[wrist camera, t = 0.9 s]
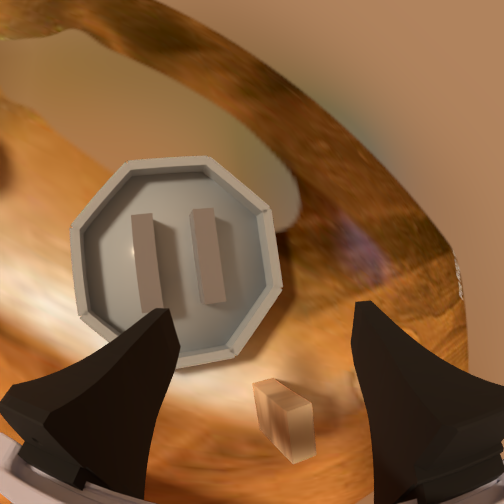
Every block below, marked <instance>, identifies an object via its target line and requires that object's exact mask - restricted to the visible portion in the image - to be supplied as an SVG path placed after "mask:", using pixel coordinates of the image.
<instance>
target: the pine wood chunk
mask: <svg viewBox="0 0 504 504" xmlns="http://www.w3.org/2000/svg"><path fill="white" fill-rule="evenodd" d="M252 385H253V391H254V397H255V404H256V410H257V416H258V421H259V427H260V430H261V431H262V432H263V433H264V434H265V435H266V436H267V438H268V439H269V440H270V441H271V442H272V443H273V444H274V445H275V446H276V447H277V448H278V449H279V450H280V451H281V452H282V453H283V454H284V455H285V456H286V458H287V459H288V460H289V461H290V462H291V463H292V464H295V463H298V462H301V461H303V460H306V459H308V458H311V457H313V456H315V455H316V444H315V432H314V420H313V409H312V403H311V402H310V401H308V400H306V399H305V398H303V397H302V396H300V395H298V394H297V393H295V392H294V391H292V390H290V389H289V388H287V387H286V386H284V385H283V384H281V383H280V382H278V381H277V380H275V379H274V378H271V379H267V380H264V381H260V382H256V383H252Z"/></svg>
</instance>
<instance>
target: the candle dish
mask: <svg viewBox="0 0 504 504" xmlns="http://www.w3.org/2000/svg"><path fill="white" fill-rule="evenodd" d="M269 207H270V206H269V205H267V204H266V203H265V202H264V201H263V200H262V199H260V198H259V197H258V196H257V195H256V194H255V193H253V192H252V191H251V190H250V189H249V188H247V187H246V186H245V185H244V184H243V183H241V182H240V181H239V180H238V179H237V178H235V177H234V176H233V175H232V174H231V173H229V172H228V171H227V170H226V169H225V168H223V167H222V166H221V165H220V164H218V163H217V162H216V161H215V160H213V159H212V158H211V157H209V158H208V157H207V156H188V157H169V158H154V159H141V160H130V161H128V164H127V163H126V162H125V163H124V164H123V165H122V166H121V167H120V168H119V169H118V170H117V171H116V172H115V173H114V175H113V176H112V177H111V178H110V179H109V180H108V181H107V182H106V183H105V184H104V186H103V187H102V188H101V189H100V190H99V191H98V192H97V194H96V195H95V196H94V197H93V198H92V199H91V201H90V202H89V203H88V204H87V205H86V207H85V208H84V209H83V210H82V212H81V213H80V214H79V215H78V217H77V218H76V219H75V220H74V222H73V223H72V224H71V226H72V227H73V228H70V246H71V260H72V271H73V280H74V289H75V297H76V304H77V310H78V316H81V317H80V319H81V320H82V321H83V322H84V323H86V324H87V325H88V326H89V327H90V328H92V329H93V330H94V331H95V332H97V333H98V334H99V335H100V336H102V337H103V338H104V339H105V340H107V341H108V342H111V341H112V340H114V339H115V338H116V337H118V336H119V335H120V334H122V333H123V332H124V331H126V330H127V329H128V328H130V327H131V326H132V325H133V324H135V323H136V322H137V321H139V320H140V319H141V318H142V317H144V316H145V315H146V314H148V313H149V312H151V311H152V310H154V309H155V308H169V309H170V313H171V316H172V319H173V323H174V326H175V330H176V333H177V336H178V339H179V343H180V346H181V348H180V352H179V357H178V361H177V365H176V369H178V368H184V367H190V366H196V365H201V364H206V363H212V362H217V361H222V360H227V359H231V358H235V355H236V356H238V354H239V353H240V352H241V350H242V349H243V347H244V346H245V344H246V343H247V342H248V340H249V339H250V337H251V336H252V334H253V333H254V331H255V330H256V328H257V327H258V326H259V324H260V323H261V321H262V320H263V318H264V317H265V315H266V314H267V312H268V311H269V309H270V308H271V306H272V305H273V303H274V302H275V300H276V299H277V297H278V296H279V294H280V293H281V291H282V289H281V287H283V283H282V276H281V269H280V262H279V256H278V249H277V242H276V236H275V229H274V223H273V216H272V210H271V209H269Z"/></svg>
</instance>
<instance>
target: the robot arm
mask: <svg viewBox="0 0 504 504" xmlns="http://www.w3.org/2000/svg"><path fill="white" fill-rule="evenodd" d="M180 348H181V346H180V343H179V339H178V336H177V333H176V330H175V326H174V323H173V319H172V316H171V313H170V309H169V308H155V309H154V310H152V311H151V312H149V313H148V314H146V315H145V316H144V317H142V318H141V319H140V320H139V321H137V322H136V323H135V324H133V325H132V326H131V327H130V328H128V329H127V330H126V331H124V332H123V333H122V334H120V335H119V336H118V337H116V338H115V339H114V340H112V341H111V342H109V343H108V344H107V345H105V346H104V347H102V348H101V349H99V350H98V351H96V352H95V353H93V354H91V355H90V356H88V357H86V358H84V359H83V360H81V361H79V362H77V363H75V364H73V365H71V366H69V367H66V368H64V369H62V370H60V371H58V372H55V373H53V374H50V375H47V376H44V377H41V378H38V379H35V380H31V381H28V382H24V383H19V384H15V385H12V386H11V388H10V389H9V390H8V392H7V393H6V394H5V396H4V397H3V399H2V400H1V401H0V413H1V415H2V416H3V417H4V419H5V420H6V421H7V422H8V423H9V425H10V426H11V427H12V428H13V429H14V430H15V431H16V432H17V433H18V434H19V435H20V437H21V438H22V439H23V440H24V441H25V442H24V444H23V446H22V445H20V444H19V443H18V442H16V441H15V440H13V439H12V438H10V437H8V436H7V435H5V434H3V433H0V493H1V494H2V495H3V496H5V497H6V498H7V499H8V500H10V501H11V502H12V503H10V504H156V503H152V502H148V501H144V490H145V478H146V470H147V463H148V456H149V451H150V445H151V440H152V436H153V431H154V427H155V423H156V419H157V416H158V413H159V410H160V407H161V405H162V402H163V399H164V397H165V394H166V392H167V389H168V387H169V384H170V382H171V379H172V377H173V374H174V371H175V369H176V365H177V361H178V357H179V352H180ZM351 348H352V355H353V361H354V366H355V370H356V373H357V377H358V380H359V384H360V387H361V391H362V394H363V398H364V402H365V405H366V409H367V413H368V418H369V425H370V433H371V441H372V452H373V467H374V504H504V459H503V460H502V458H501V455H500V453H501V452H503V449H504V448H503V446H502V443H501V441H502V440H503V439H504V386H501V385H498V384H495V383H491V382H488V381H485V380H483V379H481V378H478V377H475V376H473V375H471V374H469V373H467V372H465V371H462V370H461V369H459V368H457V367H455V366H453V365H451V364H449V363H448V362H446V361H444V360H442V359H441V358H439V357H438V356H436V355H435V354H433V353H432V352H430V351H429V350H427V349H426V348H424V347H423V346H422V345H420V344H419V343H418V342H417V341H415V340H414V339H413V338H412V337H410V336H409V335H408V334H407V333H406V332H404V331H403V330H402V329H401V328H400V327H399V326H398V325H396V324H395V323H394V322H393V321H392V320H391V319H390V318H389V317H388V316H387V315H386V314H385V313H384V312H382V311H381V310H380V309H379V308H378V307H377V306H376V305H375V304H374V303H373V302H372V301H360V302H355V312H354V321H353V329H352V337H351Z"/></svg>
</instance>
